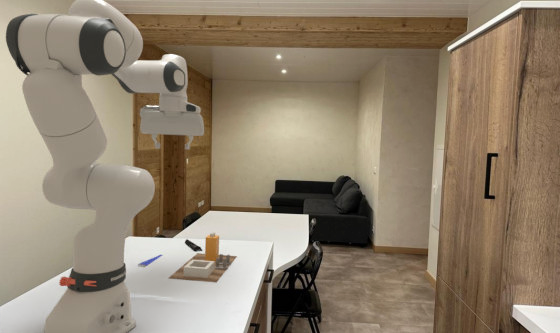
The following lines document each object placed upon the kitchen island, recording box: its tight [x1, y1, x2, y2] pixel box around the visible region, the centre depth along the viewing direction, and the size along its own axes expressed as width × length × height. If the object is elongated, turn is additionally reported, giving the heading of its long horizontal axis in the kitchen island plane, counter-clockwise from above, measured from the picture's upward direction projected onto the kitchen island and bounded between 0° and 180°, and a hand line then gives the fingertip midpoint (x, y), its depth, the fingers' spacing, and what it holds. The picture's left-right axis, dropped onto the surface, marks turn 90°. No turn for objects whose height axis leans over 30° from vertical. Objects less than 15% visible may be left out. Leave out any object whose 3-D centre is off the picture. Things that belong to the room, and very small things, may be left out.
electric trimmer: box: [184, 239, 203, 253], centre depth 155 cm, size 4×16×3 cm, turn 32°
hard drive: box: [137, 254, 163, 268], centre depth 136 cm, size 2×8×12 cm
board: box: [168, 252, 238, 283], centre depth 131 cm, size 28×16×5 cm, turn 173°
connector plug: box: [204, 231, 220, 262], centre depth 138 cm, size 4×4×10 cm
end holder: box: [183, 260, 215, 278], centre depth 124 cm, size 8×8×3 cm
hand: (172, 148), depth 122 cm, fingers open, 8 cm apart
